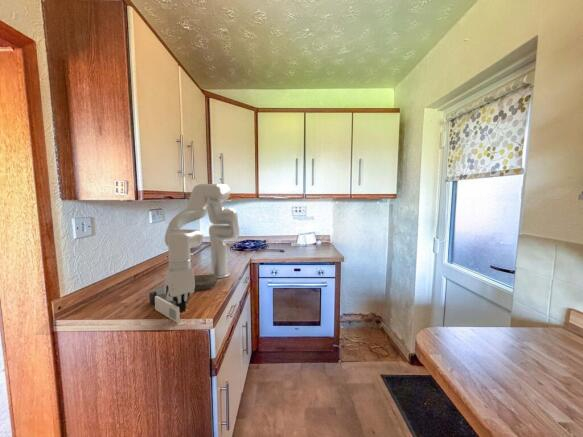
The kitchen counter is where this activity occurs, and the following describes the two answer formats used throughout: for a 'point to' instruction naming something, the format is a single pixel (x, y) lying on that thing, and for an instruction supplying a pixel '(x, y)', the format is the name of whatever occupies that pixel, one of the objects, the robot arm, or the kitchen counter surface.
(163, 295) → the camera housing
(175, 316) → the side door
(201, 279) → the marble piece
